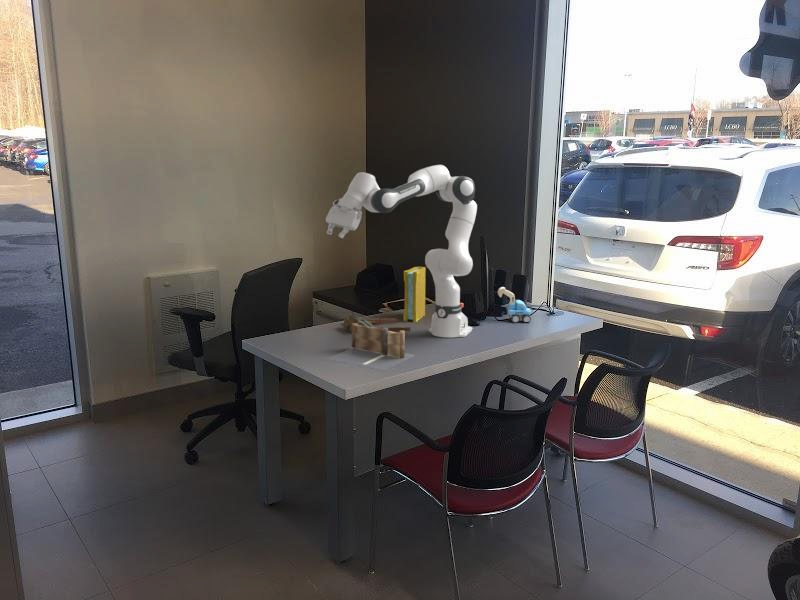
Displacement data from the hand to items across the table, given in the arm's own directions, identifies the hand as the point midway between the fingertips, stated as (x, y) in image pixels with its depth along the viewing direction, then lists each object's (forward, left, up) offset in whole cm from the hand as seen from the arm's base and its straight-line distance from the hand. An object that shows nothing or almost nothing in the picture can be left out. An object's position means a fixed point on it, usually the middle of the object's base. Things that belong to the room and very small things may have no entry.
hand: (334, 235), depth 273 cm
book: (-64, +3, -48) cm, 80 cm away
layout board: (+6, +22, -48) cm, 53 cm away
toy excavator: (-84, +48, -48) cm, 108 cm away
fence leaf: (0, +16, -47) cm, 49 cm away
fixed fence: (0, +29, -47) cm, 55 cm away
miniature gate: (-34, -3, -49) cm, 59 cm away
